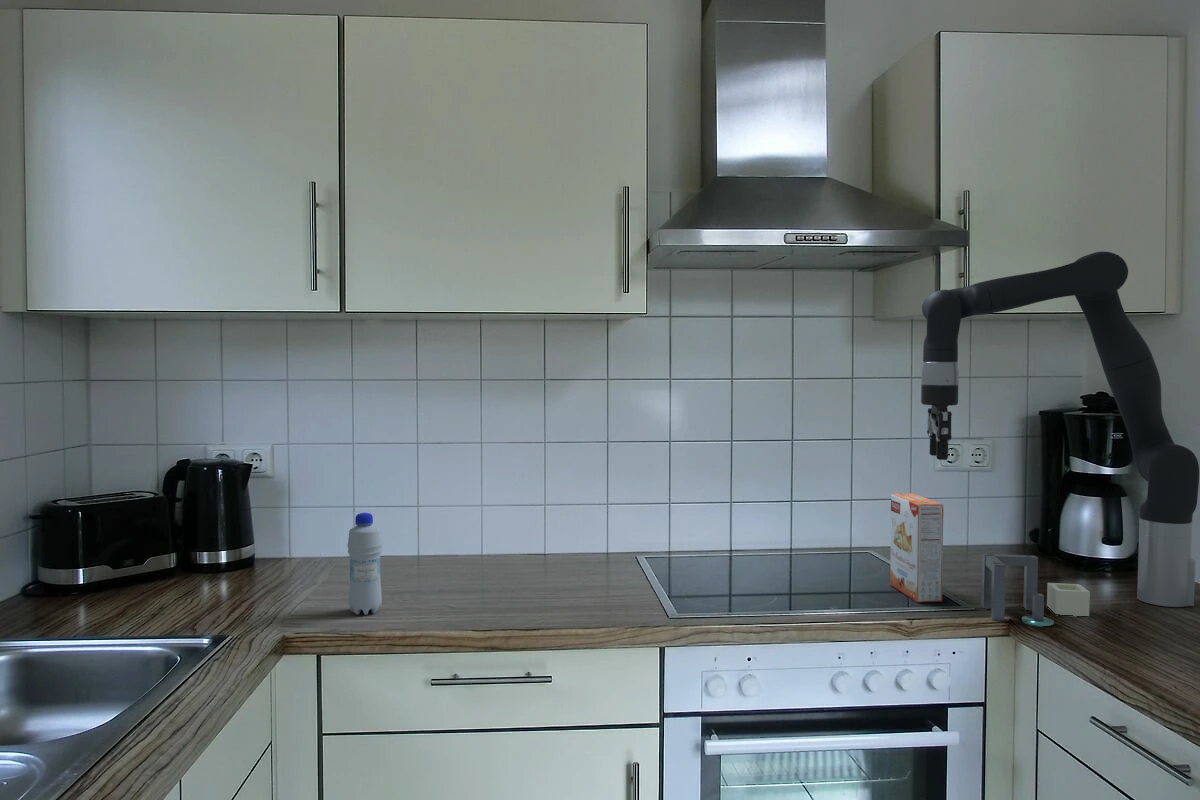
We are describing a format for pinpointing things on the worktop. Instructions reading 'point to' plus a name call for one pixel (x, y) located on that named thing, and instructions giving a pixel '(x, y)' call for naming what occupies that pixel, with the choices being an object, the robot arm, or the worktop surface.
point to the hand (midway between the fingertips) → (938, 457)
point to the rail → (996, 581)
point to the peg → (1037, 613)
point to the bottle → (364, 565)
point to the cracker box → (917, 547)
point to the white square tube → (1068, 599)
